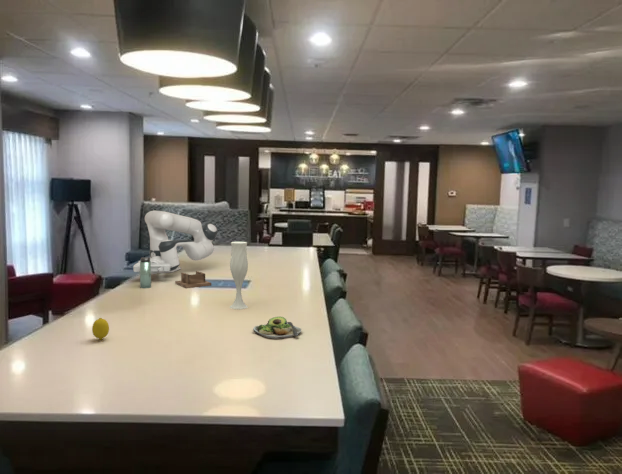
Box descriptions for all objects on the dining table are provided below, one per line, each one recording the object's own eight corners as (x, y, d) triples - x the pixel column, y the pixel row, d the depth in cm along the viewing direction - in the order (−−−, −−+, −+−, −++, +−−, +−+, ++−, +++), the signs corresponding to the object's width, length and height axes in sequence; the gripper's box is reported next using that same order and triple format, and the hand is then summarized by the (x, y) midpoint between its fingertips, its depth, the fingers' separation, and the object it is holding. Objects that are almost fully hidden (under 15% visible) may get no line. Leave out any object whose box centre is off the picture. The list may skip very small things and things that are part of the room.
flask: (145, 285, 278) (144, 257, 277) (153, 286, 276) (152, 257, 275) (138, 287, 273) (137, 258, 272) (146, 288, 271) (145, 259, 269)
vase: (250, 305, 237) (250, 241, 234) (246, 309, 229) (246, 243, 226) (231, 304, 238) (231, 241, 235) (227, 308, 230) (227, 243, 227)
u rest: (175, 283, 286) (175, 272, 285) (199, 281, 295) (199, 270, 294) (186, 288, 274) (185, 276, 273) (211, 285, 283) (211, 273, 282)
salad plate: (314, 336, 191) (314, 324, 191) (274, 344, 181) (274, 331, 180) (285, 324, 207) (285, 313, 206) (247, 331, 196) (247, 319, 195)
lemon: (111, 340, 181) (111, 318, 180) (96, 343, 177) (95, 320, 176) (105, 336, 185) (105, 315, 184) (90, 339, 181) (89, 317, 180)
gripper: (172, 271, 298) (169, 275, 284) (136, 271, 295) (131, 276, 281) (172, 260, 297) (169, 264, 283) (135, 261, 294) (131, 265, 280)
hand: (150, 270), depth 282 cm, fingers open, 8 cm apart
